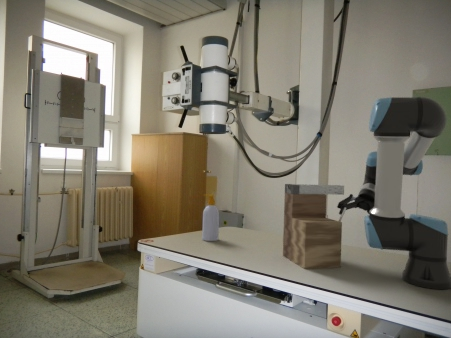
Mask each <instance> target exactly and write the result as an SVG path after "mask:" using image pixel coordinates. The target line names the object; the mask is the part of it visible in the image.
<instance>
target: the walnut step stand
mask: <svg viewBox="0 0 451 338" xmlns="http://www.w3.org/2000/svg"><path fill="white" fill-rule="evenodd" d="M283 204H284V207H283V240H282V243H283V244H282V257H284V258H285V259H288V260H289V261H291V262H292V263H294V264H296V265H298V266H299V267H300V268H302V269H304V270H309V269H312V270H313V269H326V268H327V269H328V268H329V267H332V268H341V267H342V266H341V264H342V233H343V222H342V221H341V222H339V220H335V219H332V218H327V194H299V195H298V194H288V193H285V192H284V203H283ZM329 269H330V268H329Z"/></svg>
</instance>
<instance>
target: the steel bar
mask: <svg viewBox="0 0 451 338" xmlns="http://www.w3.org/2000/svg"><path fill="white" fill-rule="evenodd" d="M285 193H288V194H298V195H299V194H325V195H336V196H337V195H345V185H340V184H292V183H284V194H285Z"/></svg>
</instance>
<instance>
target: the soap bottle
mask: <svg viewBox="0 0 451 338" xmlns="http://www.w3.org/2000/svg"><path fill="white" fill-rule="evenodd" d="M202 196H206V197H209V198H208V200H207V206H205V208H204V209H203V211H202V230H201V231H202V234H201V235H202V236H201V239H202V241H206V242H216V241H218V240H219V233H220V231H219V230H220V225H219V223H220V210H219V209H218V208H217V206H215V201H216V200H215V198H214V197H215V196H214V194H205V193H204V194H202Z"/></svg>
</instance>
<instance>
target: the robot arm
mask: <svg viewBox="0 0 451 338" xmlns="http://www.w3.org/2000/svg"><path fill="white" fill-rule="evenodd" d="M447 120H448V119H447V114H446V111H445V109H444V108H443V106H442V105H441V104H440V103H439V102H437V101H436V100H435V99H432V98H431V97H425V96H418V97H415V96H414V97H413V96H411V97H410V96H409V97H408V96H407V97H406V96H405V97H403V96H402V97H399V96H398V97H391V96H389V97H383V98H378V99H377V100H375V101H374V103H373V105H372V108H371V113H370V117H369V125H368V131H369V132H371V133H373V138H374V139H375V140H376V141H377V150H376V151H371V152H370V153H368V155H367V158H366V162H365V163H366V164H365V171H364V172H365V174H364V180H363V183H362V186H361V188H360V190H359V192H358V194H357V196H354V194H352V193H350V194H349V195H348V196H347V197H346V198H344V199H342V200H340V201H339V202H337V203H338V204H337V206H336V208H337V209H339V212H338V214H339V215H340V217H339V219H338V221H339V222H342V219H343V217H344V215H345V213H346V211H348V210H350V209H361V210H363V211H366V213H367V214H368V215H364V231H365V232H364V233H365V239H366V242H367V245H368V246H369V247H370V248H373V249H378V250H379V249H380V250H391V251H402V252H408V259H407V261H406V264H405V267H404V270H403V271H402V280H403V281H405V282H406V283H408V284H411V285H414V286H417V287H421V288H425V289H434V290H449V289H451V274H450V271H449V267H448V263H447V261H448V259H447V258H448V257H447V256H448V238H449V237H448V236H449V232H448V230H449V229H448V223H447V222H446V221H445V220H442V219H439V218H436V217H432V216H427V215H421V214H415V213H412V214H410V215H409V216H408V217H406V214H405V212H404V211H403V210H402V209H401V208H402V207H401V206H402V193H403V192H402V191H403V178H404V176H419V175H421V174H422V172H423V167H424V166H423V165H424V163H423V160H422V159H423V158H424V156H425V155H426V153H427V151H428V150H429V148H430V146H431V145H432V144H433V142H434V140H435V139H436V138H439V136H441V135H442V133H444V132H443V131H444V130H445V129H446V126H447V123H448V122H447ZM406 141H407V143H406ZM405 144H406V145H405ZM403 175H404V176H403Z"/></svg>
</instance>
